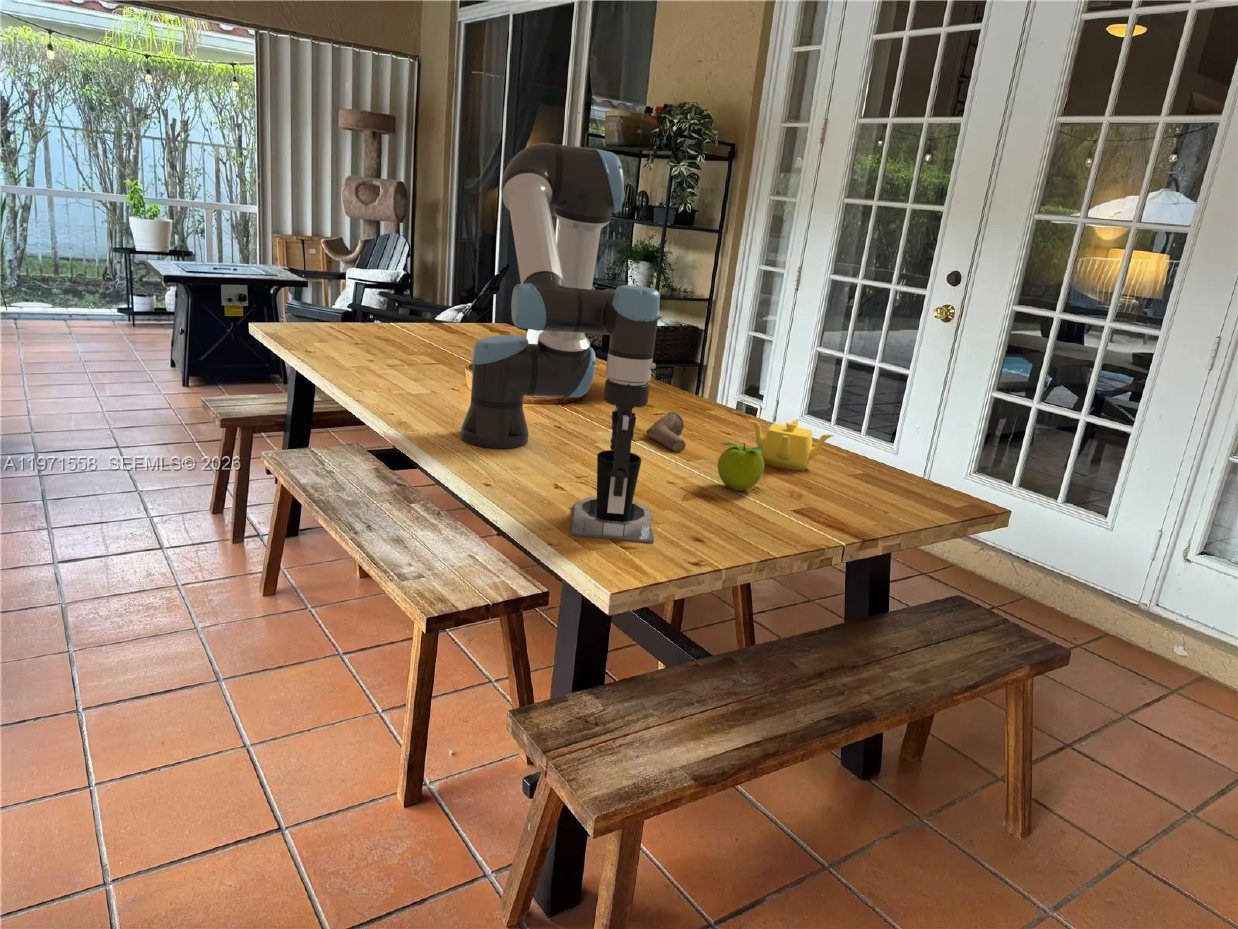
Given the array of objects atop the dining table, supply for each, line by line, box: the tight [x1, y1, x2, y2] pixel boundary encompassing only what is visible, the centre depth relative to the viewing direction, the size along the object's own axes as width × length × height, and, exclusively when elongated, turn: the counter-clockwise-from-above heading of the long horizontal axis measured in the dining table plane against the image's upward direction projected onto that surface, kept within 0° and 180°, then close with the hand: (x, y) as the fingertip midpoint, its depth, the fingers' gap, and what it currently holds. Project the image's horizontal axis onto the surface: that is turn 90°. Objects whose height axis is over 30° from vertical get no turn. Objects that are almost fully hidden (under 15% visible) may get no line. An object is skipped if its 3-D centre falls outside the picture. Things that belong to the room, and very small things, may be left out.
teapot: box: [748, 419, 835, 472], centre depth 197 cm, size 15×14×10 cm
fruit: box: [717, 441, 765, 492], centre depth 174 cm, size 9×9×10 cm
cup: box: [596, 449, 642, 522], centre depth 147 cm, size 8×8×12 cm
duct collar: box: [570, 496, 655, 544], centre depth 148 cm, size 14×14×3 cm
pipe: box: [645, 411, 686, 453], centre depth 204 cm, size 6×17×10 cm
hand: (614, 499), depth 147 cm, fingers open, 13 cm apart
